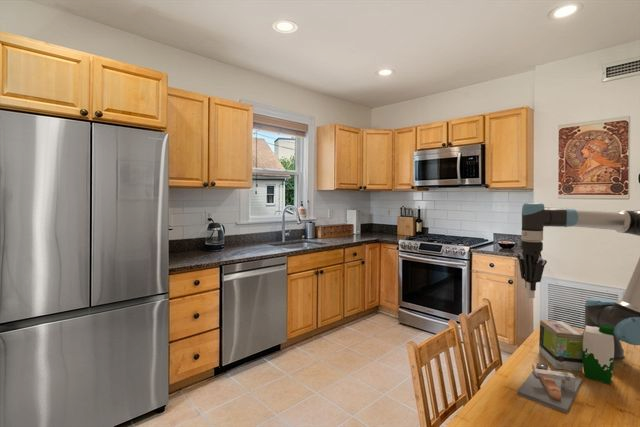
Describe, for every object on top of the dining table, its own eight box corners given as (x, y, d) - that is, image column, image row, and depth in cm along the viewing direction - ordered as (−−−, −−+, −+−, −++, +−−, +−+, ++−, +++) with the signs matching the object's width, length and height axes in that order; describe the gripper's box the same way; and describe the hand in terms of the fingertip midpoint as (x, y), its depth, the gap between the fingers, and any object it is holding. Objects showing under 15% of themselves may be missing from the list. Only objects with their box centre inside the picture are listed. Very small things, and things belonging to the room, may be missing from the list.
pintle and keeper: (539, 370, 127) (539, 357, 127) (581, 388, 115) (582, 374, 115) (520, 379, 121) (520, 365, 121) (562, 399, 109) (562, 384, 109)
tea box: (583, 372, 129) (585, 334, 128) (554, 369, 131) (556, 332, 130) (563, 354, 143) (565, 320, 143) (538, 352, 145) (539, 318, 145)
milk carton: (613, 386, 118) (615, 332, 117) (581, 378, 124) (583, 325, 123) (612, 376, 125) (614, 324, 124) (581, 368, 131) (583, 319, 130)
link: (532, 368, 128) (532, 363, 128) (548, 371, 126) (548, 365, 126) (547, 398, 109) (547, 392, 109) (566, 401, 107) (566, 395, 107)
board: (537, 367, 132) (537, 364, 132) (581, 381, 122) (582, 378, 122) (517, 394, 114) (517, 390, 114) (567, 413, 104) (567, 409, 104)
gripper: (511, 239, 141) (510, 293, 142) (536, 243, 128) (534, 303, 130) (527, 238, 143) (525, 292, 144) (553, 242, 130) (551, 302, 131)
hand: (530, 297), depth 137 cm, fingers closed
